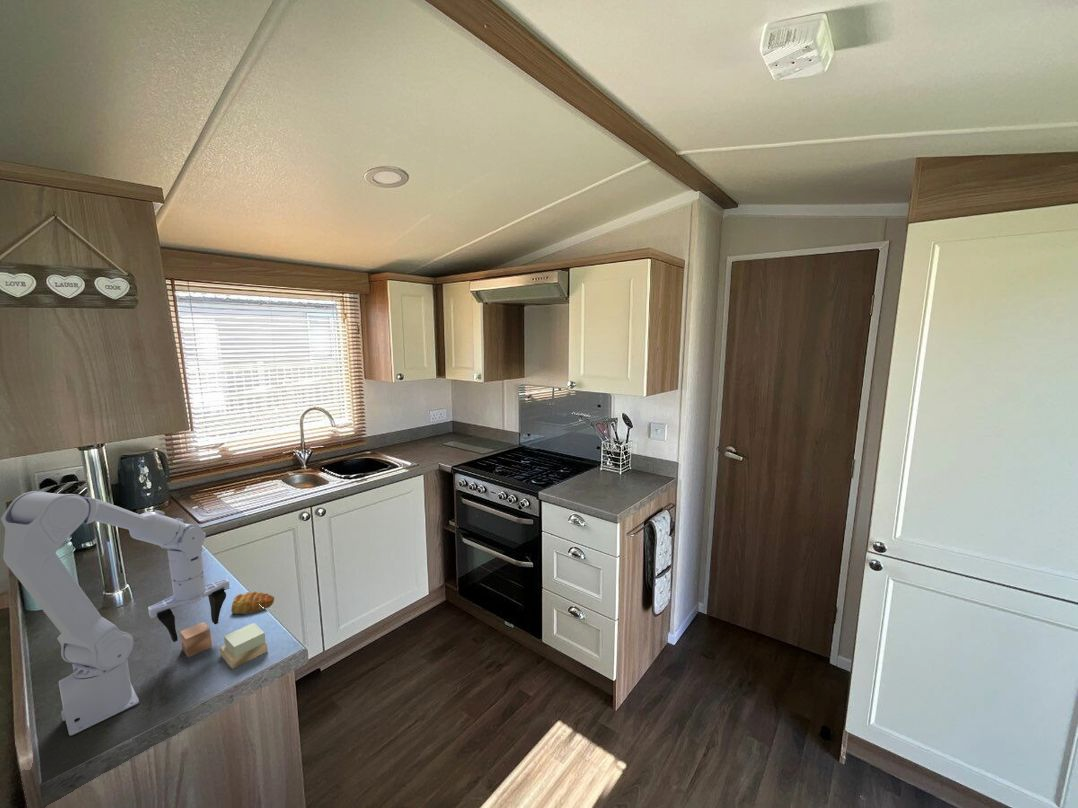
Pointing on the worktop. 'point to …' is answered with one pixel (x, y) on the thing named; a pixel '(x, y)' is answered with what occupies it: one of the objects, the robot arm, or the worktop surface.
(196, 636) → the terracotta cube
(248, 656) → the oak slab
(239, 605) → the pastry
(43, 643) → the worktop surface
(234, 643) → the sage slab
